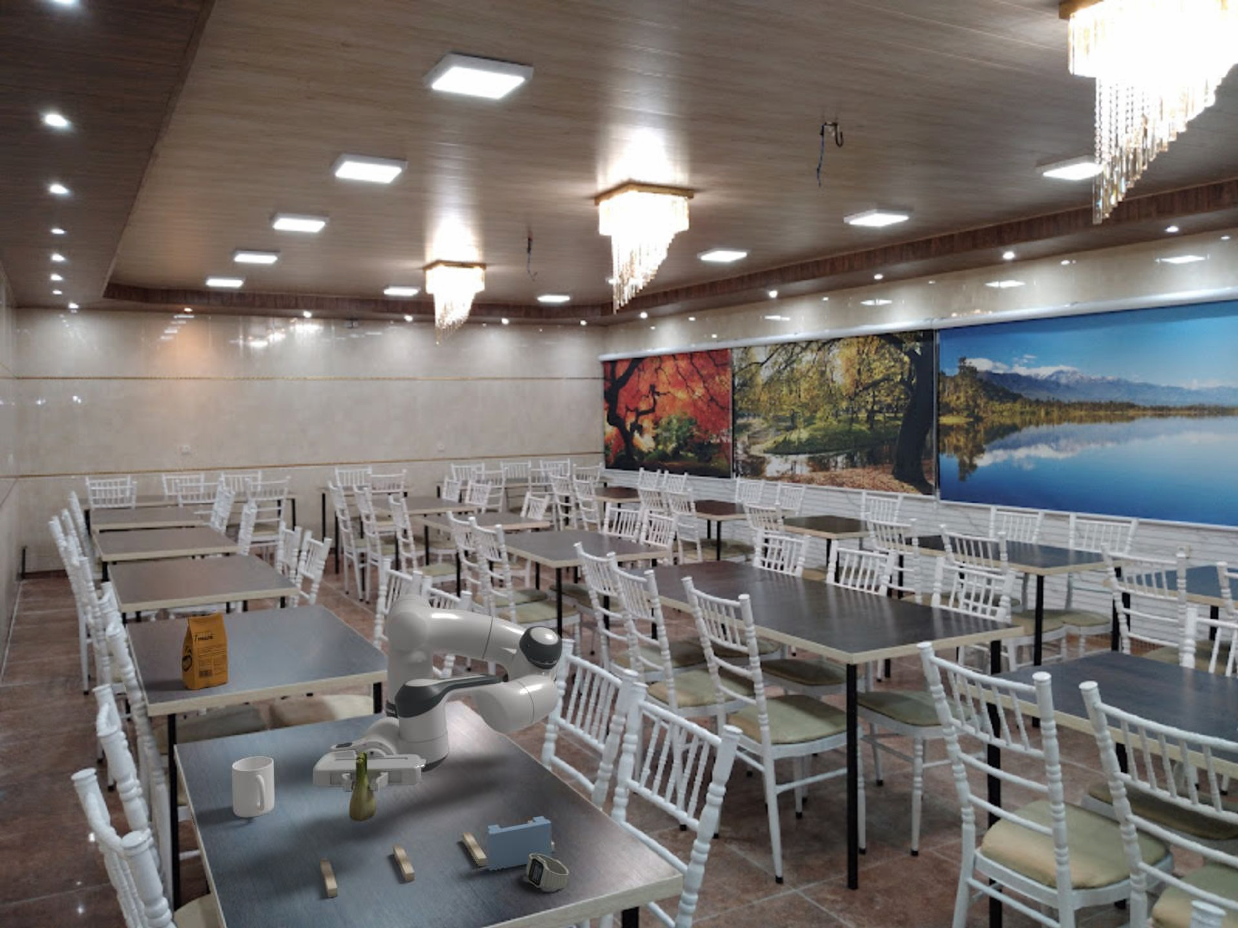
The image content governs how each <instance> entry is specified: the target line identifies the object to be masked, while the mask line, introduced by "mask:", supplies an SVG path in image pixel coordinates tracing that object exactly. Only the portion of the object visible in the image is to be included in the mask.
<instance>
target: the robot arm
mask: <svg viewBox="0 0 1238 928" xmlns="http://www.w3.org/2000/svg"><path fill="white" fill-rule="evenodd" d="M384 632H385V633H384V634H385V636H386V639H387V661H386V662H387V664H386V665H387V666H386V678H387V679H386V681H387V682H386V683H387V699H386V700H385V707H384V708H385V716H384V717H382V718H379V719H377V720H376V721H375V722H373V723H371V724H370V726H369V727H368V728H367V729H366V730H365V732H364V734H363V735H362V737H361V738H360V739H357V740H354V741H350V742H345V743H339V744H334V745H331V746H330V747H329V751H328V753H325V754H324V755H323V756H322V757H321V758H320V759H318V761H317V762H316V764H315V765H314V767H313V769H312V784H313V786H314V787H315V788H318V789H319V788H343V793H351V792H352V793H353V790H354V787H355V784H356V761H357V760H356V758H357V756H358V755H360V754H361V752H364V751H366V752H367V776H368V781H369V784H370V787H371V788H370V790H371V791H373V792H379V791H380V790H381V788H384V787H387V786H388V787H389V786H411V785H412V786H415V785H417V784H419V783H421V780H422V774H423V773H426V772H430V771H431V770H434V769H436V768H437V767H438V766H439V765H441V763H443V762H444V761H445V760H446V758H447V757H448V755H449V754H450V744H449V734H448V728H447V716H446V705H447V701H448V700H449V699H453V698H460V697H467V696H470V697H471V699H472V700H473V702H474V704H475V705H476V707H477V710H478V713H479V715H480V717H481V719H482V720H483V721H484V723H485V724H486V725H487V726H488V727H489V728H491V730H493V731H494V732H498V733H501V734H512V733H516V732H519V731H521V730H524V729H526V728H528V727H531V726H533V725H534V724H535V725H536V723H539V722H540V721H542V720H543V719H545V718H547V716H549V715H550V714H552V713H553V712H554V711H555V710H556V708H557V707H558V704H559V701H560V693H559V689H558V687H557V684H556V683H555V679H556V677H557V672H558V671H557V670H558V667H559V662H560V659H561V657H562V653H563V640H562V637H561V636H560V635H559V633H558V632H556V631H555V630H554V629H552V628H550V627H548V626H546V625H545V626H543V625H534V626H530V627H528V628H525V627H523V626H521V625H519V624H517V623H515V622H512V621H509V620H506V619H502V618H500V617H496V616H491V615H487V614H484V613H478V612H474V611H471V610H466V609H465V610H464V609H453V608H451V609H450V608H439V607H432V605H431V604H430V602H429V601H428V599H426V598H425V597H423V596H421V595H420V594H417V593H407V594H403V595H401V596H399V597H398V598H396V599H395V600H394V601H393V602H392V604H391V605H390V607H389V610H388V612H387V615H386V620H385V622H384ZM434 653H435V654H437V653H438V654H447V655H448V654H449V655H454V656H459V657H463V658H469V659H473V660H478V661H484V662H487V663H493V664H498V665H500V666H502V667H503V668H504V669H505V671H507V672H506V673H504V675H503V676H502V679H501V678H500V676H498V675H495V674H490V673H489V674H488V673H475V674H466V675H465V674H464V675H457V676H448V677H441V678H440V677H438V678H434Z"/></svg>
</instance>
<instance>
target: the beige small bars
mask: <svg viewBox="0 0 1238 928" xmlns="http://www.w3.org/2000/svg"><path fill="white" fill-rule="evenodd" d="M526 822H527V823H526V824H528V823H533V819H532V820H527V821H526ZM461 836H462V837H461V839H462V840H463V841H462V842H463V844H464V843H465V844H464V846H465V845H466V846H467V847H466V846H465V847H466V849H467V848H468V849H467V850H468V852H469V854H470V853H471V854H470V855H471V857H472V856H473V857H474V858H473V857H472V858H473V860H474V859H475V860H474V862H475V861H476V862H475V864H476V865H477V864H478V865H477V866H478V867H479V866H482V867H486V866H485V865H487V866H488V857H487V856H486V855H485V853H484V852H483V850H482V848H481V847H480V846H479V844H478V843H477V841H476V839H475V837H474V836H473V835H472V833H471V831H468V832H462V833H461ZM392 848H393V851H392V853H393V855H395V856H394V858H395V857H396V858H395V860H396V859H397V860H396V862H398V863H397V865H398V866H399V869H400V872H401V873H402V876H403V878H404V880H405V882H406V883H407V882H413V881H415V871H414V868H413V866H412V864H411V862H410V859H409V858H408V855H407V854H406V852H405V850H404V848H403V845H402V844H397V845H394V846H392ZM554 852H555V842H554V841H552V853H554ZM319 864H320V868H319V869H320V871H321V875H322V878H323V883H324V887H325V889H326V894H327V897H328V898H333V897H338V885H337V882H336V879H335V875H334V872H333V868H332V865H331V862H330V859H329V858H323V859H320V860H319Z"/></svg>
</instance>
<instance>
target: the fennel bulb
mask: <svg viewBox="0 0 1238 928" xmlns="http://www.w3.org/2000/svg"><path fill="white" fill-rule="evenodd" d="M356 760H357V761H356V784H355V787H354V789H353V790H352V794H351V798H350V800H349V808H348V809H349V813H348V816H349V818H350V819H351V820H352V821H354V822H361V823H362V822H365V821H367V820H370V819H371V818H373V817H374V816H375V814H376V812H377V809H378V808H377V807H378V806H377V805H378V804H377V800H376V796H375V794H374V791H371V790H370V788H371V786H370V784H369V781H368V776H367V752H366V751H364V752H361V754H360V755H358V756H357V758H356Z"/></svg>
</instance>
